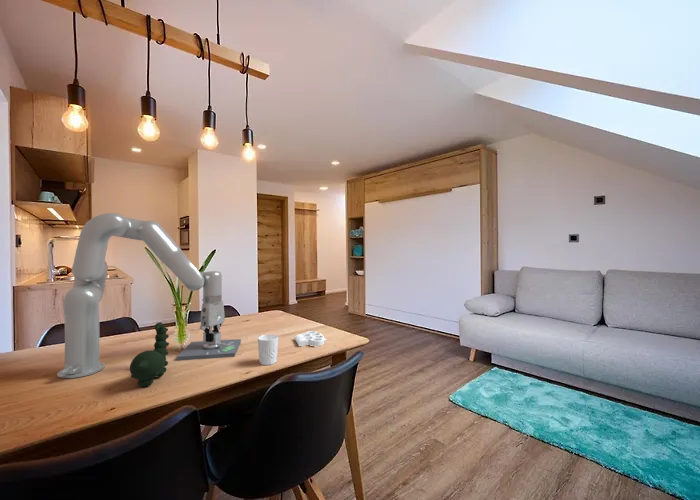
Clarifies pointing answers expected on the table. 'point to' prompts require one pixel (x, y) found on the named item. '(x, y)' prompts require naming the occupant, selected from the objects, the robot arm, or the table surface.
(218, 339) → the gray cube on spoon
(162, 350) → the toy figurine
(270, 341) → the white cup
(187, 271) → the robot arm
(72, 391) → the table surface
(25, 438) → the table surface
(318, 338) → the white brass knuckles
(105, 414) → the table surface
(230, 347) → the dial plate
